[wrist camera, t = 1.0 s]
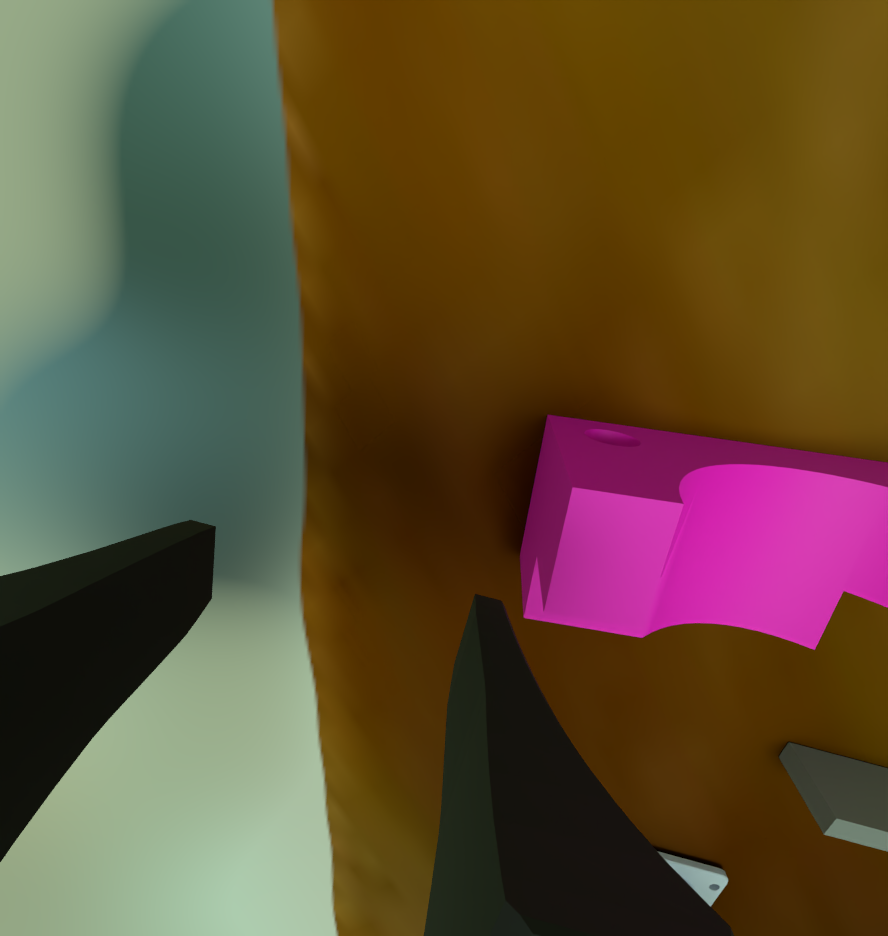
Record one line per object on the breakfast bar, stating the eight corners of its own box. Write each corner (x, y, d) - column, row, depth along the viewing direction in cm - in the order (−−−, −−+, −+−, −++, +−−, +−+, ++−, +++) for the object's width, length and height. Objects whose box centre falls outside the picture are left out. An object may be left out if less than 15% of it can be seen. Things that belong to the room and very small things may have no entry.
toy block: (519, 552, 21) (527, 683, 14) (547, 413, 19) (572, 487, 12) (880, 610, 20) (1080, 781, 13) (955, 470, 18) (1243, 588, 11)
